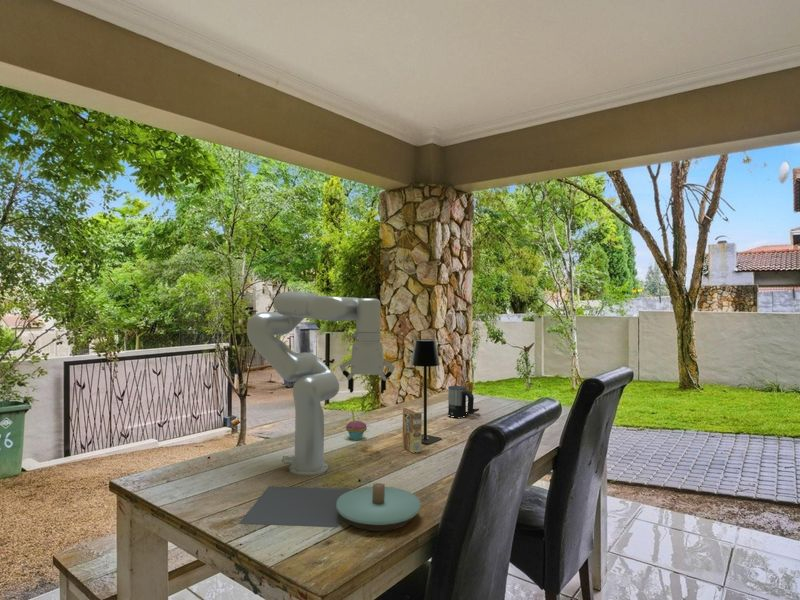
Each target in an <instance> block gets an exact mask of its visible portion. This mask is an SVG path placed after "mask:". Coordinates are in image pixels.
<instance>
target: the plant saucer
mask: <svg viewBox="0 0 800 600" xmlns="http://www.w3.org/2000/svg"><path fill="white" fill-rule="evenodd" d="M342 518H343V519H344V520H345V521H346V522H347V523H348V524H349V525H351V526H353V527H355V528H358V529H361V530H366V531H372V532H373V531H375V532H376V531H377V532H378V531H379V532H381V531H391V530H392V529H393V530H397V529H400V528H402V527H404V526H405V525H406V524H408V523H409V522H410V521H411V520H413V518H414V517H412V518H410V519H408V520H406V521H403V522H399V523H394V524H386V525H370V524H362V523H357V522H354V521H351V520H348V519H346V518H344V517H343V516H342ZM399 527H400V528H399ZM396 528H397V529H396Z"/></svg>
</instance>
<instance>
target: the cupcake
mask: <svg viewBox="0 0 800 600" xmlns="http://www.w3.org/2000/svg"><path fill="white" fill-rule="evenodd" d="M351 415H352V421H350V422H348V423H347V424H346V426H345V429H346V431H347V432H348V435H349V439H350V440H352V441H359V440H362V438H363V435H364V433H365V432H366V431H367V429H368V426H367V424H366V423H365V422H363V421H358V420H355V413H354V410H353V409H351Z"/></svg>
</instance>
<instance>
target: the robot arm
mask: <svg viewBox="0 0 800 600" xmlns="http://www.w3.org/2000/svg"><path fill="white" fill-rule="evenodd" d="M381 306H382V305H381V301H380V300H379V299H378V298H372V297H368V298H367V297H364V298H363V297H362V298H359V297H354V296H353V297H352V296H351V297H350V296H327V295H325V296H324V295H319V294H317V293H314V292H302V291H282V292H280V293H278V294H277V295H276V296H275V297H274V299H273V308H274V310H275V311H264V312H258V313H255V314H253V315H252V316H250V317H249V319H248V321H247V323H246V334H247V339H248V341H249V343H250V344H251V346H252V347H253V348H254V350H255V351H256V352H257V353H259V354H260V356H261V357H262V358H264V359H265V361H267V363H268V364H269V365H270V366H271V368H272V369H274V370H275V372H276V373H277V374H278V375H279V377H281V378H282V380H284V381H286V382H289V383H292V382H294V384H293V387H292V397H293V402H294V403H293V404H294V411H295V415H294V416H295V417H294V419H295V420H294V422H295V423H294V424H295V426H294V428H295V429H294V433H295V434H294V454H293V455H291V456H288V455H283V456H282V457H281V462H282V463H283V464H285V465H287V464H290V466H289V472H291V474H293V475H297V476H316V475H317V476H318V475H321V474H323V473H326V471H328V470H329V465H328V463H327V462H324V451H325V450H324V447H325V445H324V443H325V414H324V410H323V407H322V405H321V402H323V401H324V402H325V401H326V400H327V401H328V400H331V399H333V398H334V397H336V396H337V394H338V393H339V392H340V382H339V379H338V378H337V376H336V374H334V372H333V371H332V370H330V368H329V367H328V366H327V365H326V364H325V363H324V362H323V360H321V359H320V358H319V357H318V356H317V355H316V354H314V353H311V352H304V351H303V352H294V351H293V350H292V349H291V348H290V347H289V346H288V345H287V344H286V343H285V342H284V341H282V340H281V339H280V338H277V336H285V335H287V334H289V333H291V332H292V331H293V330H294V329H295V328H296V327H297V326H298V325H299V324H300V323H302V322H303V320H304V319H312V320H319V321H320V320H321V321H330V322H331V321H332V322H343V321H344V322H345V321H346V322H347V321H348V322H349V321H353V322H354V321H356V323H355V324H356V325H355V326H356V327H355V332H354V333H351V335H350V336H351V339H354V340H355V341H353V343H352V346H351V356H350V360H347V361H345V362H342V363H341V364H340V365H339V369H340V370H341V372H342V374H343V376H344V377H345V378H346V379H347V383H348V384H347V389H348V390H349V393H350V394H351V393H353V392H354V383H355V382H354V380H355V379H354V376H355V375H364V376H365V375H366V376H367V375H369V376H372V375H374V376H379V377H380V378H381V381H380V394H384V391H386V390H387V389H386V388H387V379H389V377H391V376H392V374H393V373H394V371H395V369H396V366H395V365H394V364H392V363H390V362H388V361H386V360H385V359H384V356H385V355H384V347H383V342H382V341H381ZM348 366H350V372H349V371H348V370H347V369H346V368H347V367H348ZM385 367H387V368H388V369H389V370H388V372H387V373H386V374H385V372H384V369H385Z"/></svg>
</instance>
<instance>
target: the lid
mask: <svg viewBox="0 0 800 600" xmlns="http://www.w3.org/2000/svg"><path fill="white" fill-rule="evenodd" d="M336 509H337V511H338V513H339V514H340V515H341V517H342V518H343V517H344V518H346V519H348V520H351V521H354V522H357V523H362V524H370V525H386V524H394V523H399V522H403V521H406V520H408V519H410V518H412V517H413V518H414V517H415V516H416V515H418V513H419V512H420V511H421V501H420V499H419V497H418V496H416V495H415V494H414V493H412V492H410V491H408V490H405V489H401V488H397V487H391V486H386V484H384V483H381V482H379V483H373V484H372V486H365V487H359V488H355V489H351V491H349V492H346V493H344V494H343V495H341V496H340V497H339V498H338V500H337V503H336ZM344 518H343V519H344ZM413 518H412V519H413Z"/></svg>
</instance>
